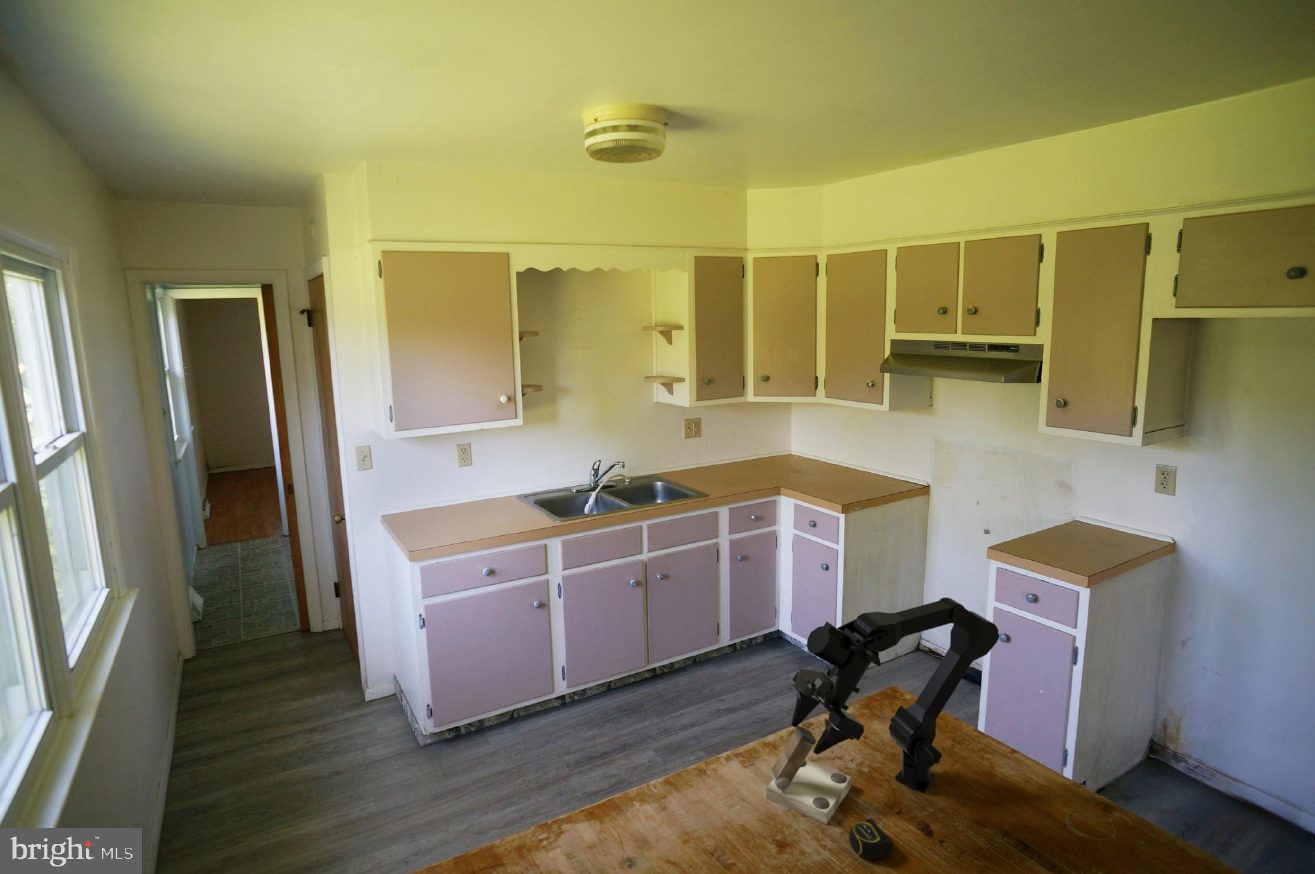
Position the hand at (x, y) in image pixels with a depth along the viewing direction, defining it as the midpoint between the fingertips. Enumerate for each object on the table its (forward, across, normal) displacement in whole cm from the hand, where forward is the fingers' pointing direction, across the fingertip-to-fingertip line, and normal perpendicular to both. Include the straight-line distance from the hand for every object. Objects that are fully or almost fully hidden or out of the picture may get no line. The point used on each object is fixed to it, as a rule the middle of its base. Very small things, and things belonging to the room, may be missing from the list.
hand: (803, 739), depth 138 cm
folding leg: (+12, -4, +4) cm, 13 cm away
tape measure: (+8, +13, +14) cm, 21 cm away
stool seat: (+10, -3, +11) cm, 16 cm away
